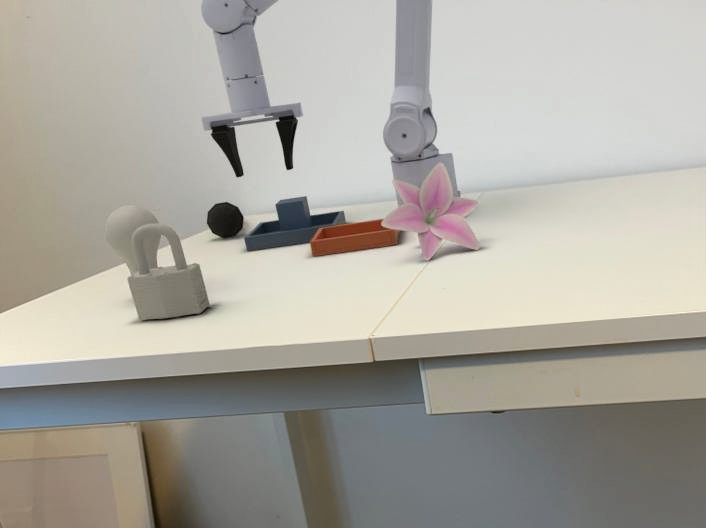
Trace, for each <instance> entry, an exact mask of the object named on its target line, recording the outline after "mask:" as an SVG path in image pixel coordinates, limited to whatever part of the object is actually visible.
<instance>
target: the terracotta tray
mask: <svg viewBox="0 0 706 528" xmlns="http://www.w3.org/2000/svg"><path fill="white" fill-rule="evenodd" d="M383 220H384V218H380V219H379V218H378V219H374V220H373V219H371V220H365V221H359V222H352V223H350V222H349V223H346V224H343V225H336V226H329V227H324V228H323V227H322V228H319V229H318V231H317V232H316V234H315V235H314V237H313V238H312V240H311V241H310V242H309V245H310V249H311V254H312V257H320V256H327V255H333V254H340V253H349V252H354V251H361V250H369V249H376V248H382V247H389V246H396V245H398V240H399V236H400V231H401V230H396V229H389V228H386V227H383V226H382V225H381V222H382V221H383Z"/></svg>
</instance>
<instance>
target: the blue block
mask: <svg viewBox="0 0 706 528" xmlns="http://www.w3.org/2000/svg"><path fill="white" fill-rule="evenodd" d="M308 201H309V200H308V197H307V195H303V196H298V197H292V198H285V199H279V200H278V201H277V202H276V203H275V204H274V205H275V210H276V214H277V218H278V219H277V220H279V224H280V228H281V232H282V231H289V230H296V229H303V228H310V227H313V225H312V220H311V216H310V215H311V211H310V206H309V202H308Z"/></svg>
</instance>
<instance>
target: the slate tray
mask: <svg viewBox="0 0 706 528" xmlns="http://www.w3.org/2000/svg"><path fill="white" fill-rule="evenodd" d="M310 216H311V220H312V225H313V227H310V228H303V229H296V230H289V231H282V232H281V228H280V224H279V219H275V220H269V221H262V222H260V223H258V224H257V225H256V226H255V227H254V228H253V229H252V230H250V231H249V233H247V234H246V235H245V236H244V237H243V239H244V243H245V248H246V251H247V252H251V251H257V250H258V251H259V250H267V249H272V248H279V247H286V246H294V245H300V244H307V243H308V244H309V243H310V241H311V240H312V238H313V237H314V235H315V234H316V232H317V231H318V229H319V228H322V227H323V228H324V227H329V226H336V225H343V224H347V221H346V214H345V211H344V210H339V211H332V212H331V211H330V212H325V213H324V212H323V213H318V214H317V213H316V214H310Z"/></svg>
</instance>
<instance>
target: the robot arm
mask: <svg viewBox="0 0 706 528" xmlns="http://www.w3.org/2000/svg"><path fill="white" fill-rule="evenodd" d="M278 1H279V0H202V1H201V5H200V10H201V16H202V18H203V20H204V22H205V24H206V25H207V26H208V27H209V28H210V29H211V30H212V34H213V37H214V42H215V47H216V53H217V56H218V60H219V65H220V69H221V73H222V74H221V75H222V78H223V81H224V86H225V91H226V95H227V99H228V103H229V107H230V112H227V113H226V112H225V113H220V114H214V115H206V116H202V117H201V122H202V126H203V131H204V132H205V131H206V132H207V131H211V133H210V136H211V138H212V140H213V141H214V142H215V143H216V144H217V145H218V147H219V149H221V151H222V152H223V154H224V155H225V157H226V159H227V160H228V162H229V164H230V167H231V168H232V170H233V172H234V175H235V178H241V177H243V176H245V174H244V173H245V172H244V168H243V163H242V160H241V157H240V154H239V149H238V142H237V136H236V135H237V134H236V128H235V127H237V126H238V127H239V126H244V125H251V124H259V123H265V122H273V121H276V122H275V127H276V130H277V133H278V136H279V140H280V143H281V147H282V152H283V160H284V165H285V169H286V171H291V170H293V169H294V157H293V156H294V143H295V137H296V132H297V128H298V123H299V119H298V118H301V117H303V116H304V112H303V108H302V103H301V102H295V103H288V104H281V105H280V104H279V105H273V106H271V103H270V99H269V94H268V89H267V84H266V79H265V75H264V70H263V65H262V60H261V56H260V51H259V47H258V41H257V38H256V34H255V29H254V27H255V25H256V23H257V20H258V17H259V16H261V15H262V14H264V13H265V12H266V11H267V10H268V9H270V7H272V6H273V5H275V4H276V3H277V2H278ZM432 18H433V0H396V1H395V39H394V40H395V42H394V44H395V45H394V48H395V49H394V53H395V54H394V84H393V85H394V86H393V87H394V88H393V92H392V95H391V100H390V104H389V116H388V118H387V120H386V122H385V124H384V127H383V130H382V138H383V143H384V145H385V147H386V149H387V150H388V151H389V152H390V153H391V154H392V156H390V157H389V159H390V165H391V172H392V177H393V180H400V181H403V182H406V183H409V184H412V185H414V186H416V187H418V188H420V189H421V186H422V184H423V182H424V181H425V179H426V178H427V176H428V175H429V173H430V172H431V170H432V169H433V168H434V167H435V166H436V165H437V164H438V163H443V164H444V166H445V167H446V169H447V172H448V175H449V178H450V181H451V185H452V189H453V197H461V198H462V195H461V190H458V185H457V184H458V183H457V176H456V170H455V162H454V156H453V153H452V152H448V153H447V152H446V153H440V151H439V148H437V146H436V145H435V144H434V142H435V140H436V139H437V135H438V124H437V121H436V119H435V116H434V114H433V100H432V99H433V98H432V95H431V92H430V91H431V90H430V78H431V77H430V75H431V47H432V46H431V45H432V21H433V19H432ZM257 116H264V117H262V118H255V119H247V120H242V119H244V118H251V117H257ZM394 189H395V188H394ZM395 195H396V201H397V208H398V207H399V206H401V205H402V204H405V203H404V202H403V200H402V199H401V197H400V195H399V194H398V192H397V190H396V189H395Z"/></svg>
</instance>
